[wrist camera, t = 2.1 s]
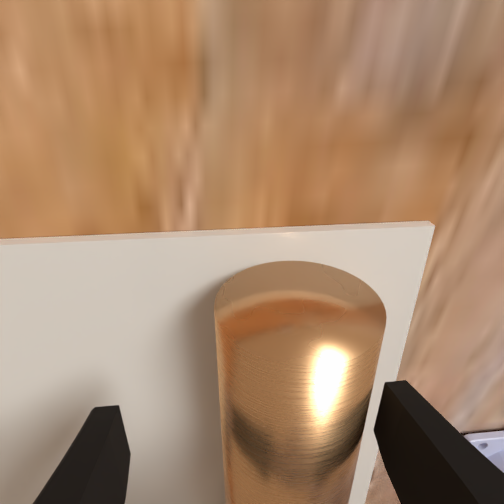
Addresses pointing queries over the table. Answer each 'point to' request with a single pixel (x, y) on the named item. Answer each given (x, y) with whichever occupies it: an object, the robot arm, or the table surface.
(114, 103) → the table surface
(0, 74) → the table surface
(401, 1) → the table surface
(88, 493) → the robot arm
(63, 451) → the hearth board
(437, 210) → the table surface
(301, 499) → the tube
